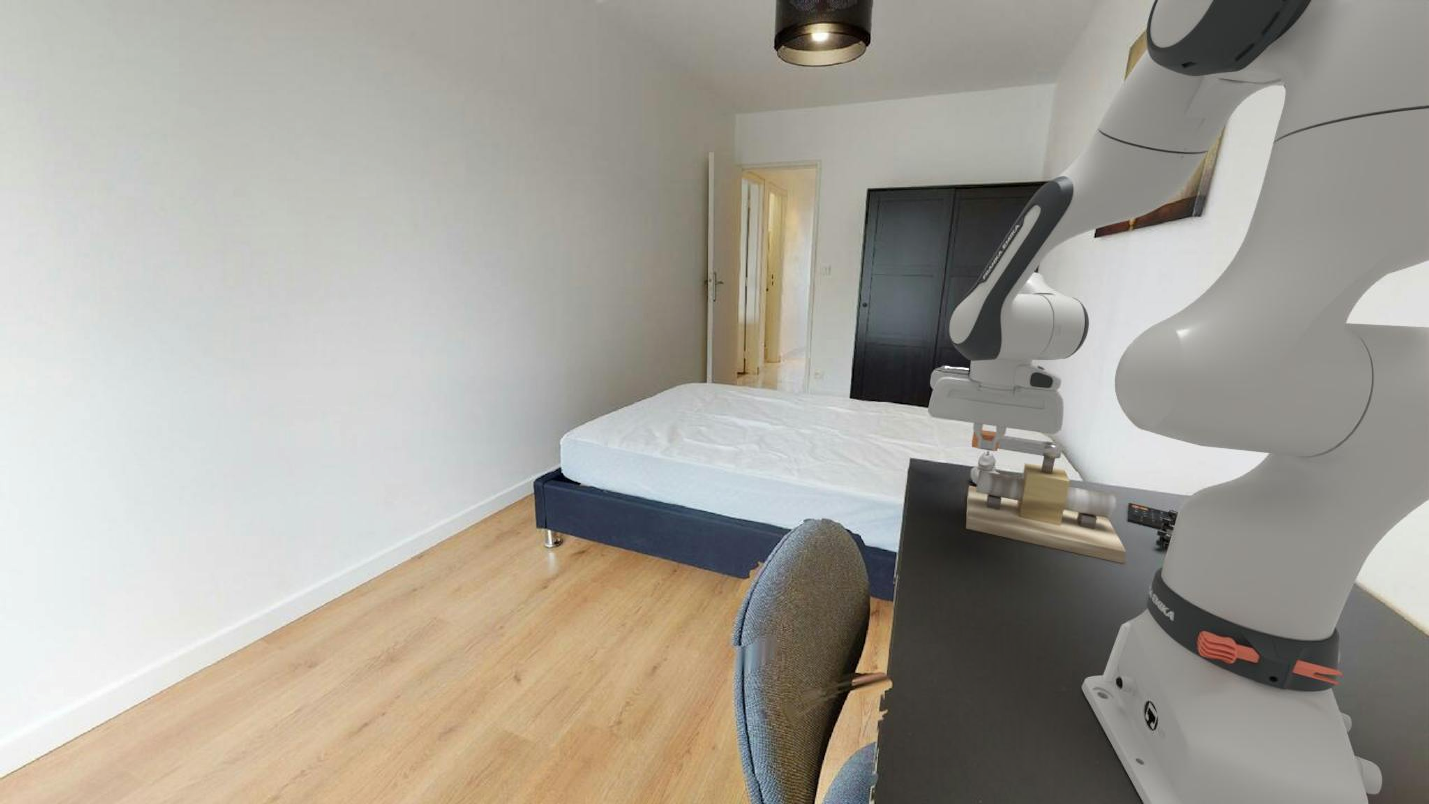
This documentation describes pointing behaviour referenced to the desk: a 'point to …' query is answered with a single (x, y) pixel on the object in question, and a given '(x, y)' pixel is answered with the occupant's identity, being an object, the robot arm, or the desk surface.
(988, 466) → the white meringue swirl
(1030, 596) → the desk surface
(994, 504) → the valve stand
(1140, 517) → the calculator
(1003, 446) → the valve lever
